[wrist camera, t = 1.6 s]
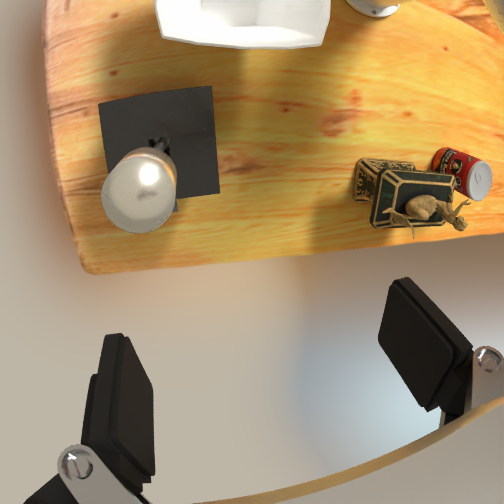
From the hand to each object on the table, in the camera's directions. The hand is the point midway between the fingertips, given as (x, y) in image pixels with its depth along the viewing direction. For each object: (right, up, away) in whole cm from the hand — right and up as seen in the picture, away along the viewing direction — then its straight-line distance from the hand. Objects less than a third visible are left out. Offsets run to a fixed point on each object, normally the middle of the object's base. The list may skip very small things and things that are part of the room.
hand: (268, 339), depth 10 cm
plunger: (-10, +16, +22) cm, 29 cm away
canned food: (+39, +21, +43) cm, 62 cm away
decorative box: (+22, +16, +42) cm, 50 cm away
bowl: (-4, +39, +24) cm, 45 cm away
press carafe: (-13, +20, +32) cm, 40 cm away
